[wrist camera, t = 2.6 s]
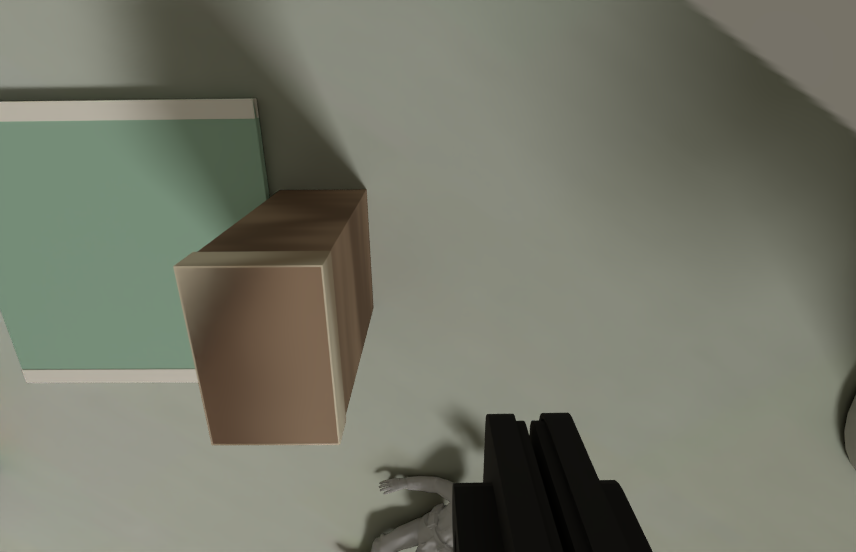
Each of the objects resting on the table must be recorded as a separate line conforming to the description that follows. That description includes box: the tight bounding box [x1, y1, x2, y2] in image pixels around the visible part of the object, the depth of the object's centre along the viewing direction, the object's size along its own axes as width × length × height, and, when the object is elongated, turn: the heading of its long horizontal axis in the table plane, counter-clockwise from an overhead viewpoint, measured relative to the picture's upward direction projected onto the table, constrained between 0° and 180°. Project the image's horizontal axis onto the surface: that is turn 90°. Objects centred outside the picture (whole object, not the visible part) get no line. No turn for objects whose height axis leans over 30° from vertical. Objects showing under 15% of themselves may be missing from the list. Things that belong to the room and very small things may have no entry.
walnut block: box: [173, 189, 373, 445], centre depth 19 cm, size 4×6×10 cm
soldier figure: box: [371, 476, 453, 552], centre depth 29 cm, size 8×5×12 cm
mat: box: [0, 98, 270, 383], centre depth 24 cm, size 14×14×1 cm
